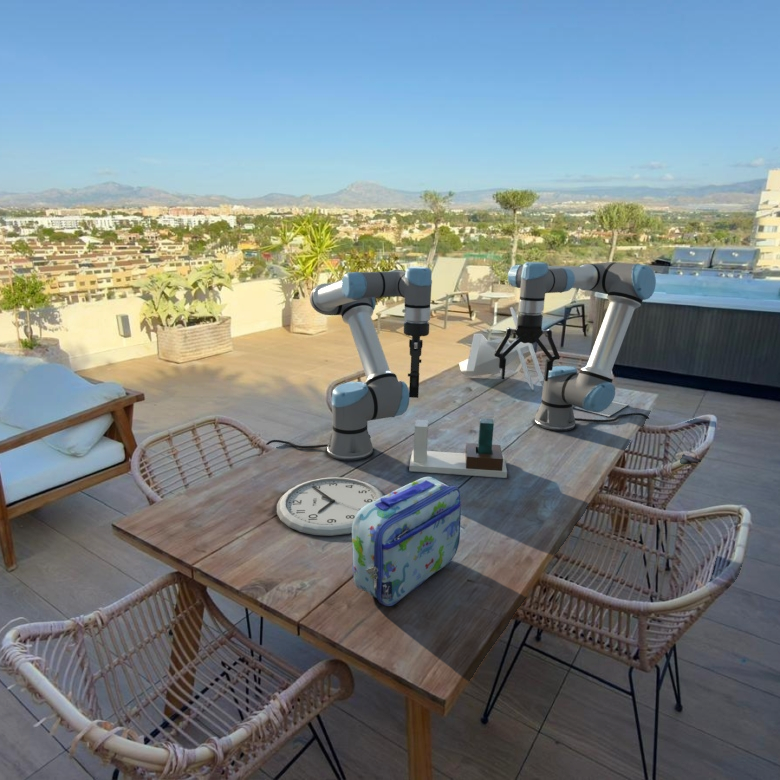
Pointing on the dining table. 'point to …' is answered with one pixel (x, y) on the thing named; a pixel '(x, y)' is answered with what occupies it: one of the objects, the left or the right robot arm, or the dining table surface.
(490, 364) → the white plastic object
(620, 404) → the invitation card
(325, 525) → the wall clock
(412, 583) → the lunch box
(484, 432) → the peg
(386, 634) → the dining table surface
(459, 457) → the peg board
